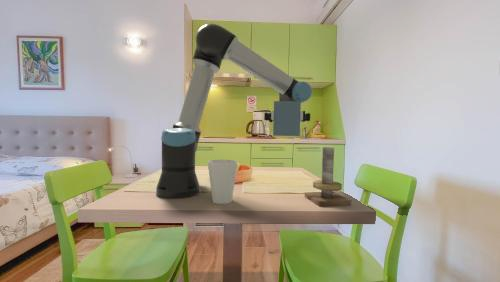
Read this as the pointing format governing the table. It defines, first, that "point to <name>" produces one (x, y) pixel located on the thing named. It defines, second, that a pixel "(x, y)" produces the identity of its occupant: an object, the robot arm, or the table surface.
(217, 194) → the foam cup
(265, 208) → the table surface
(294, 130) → the sleeve
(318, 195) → the post stand
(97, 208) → the table surface
